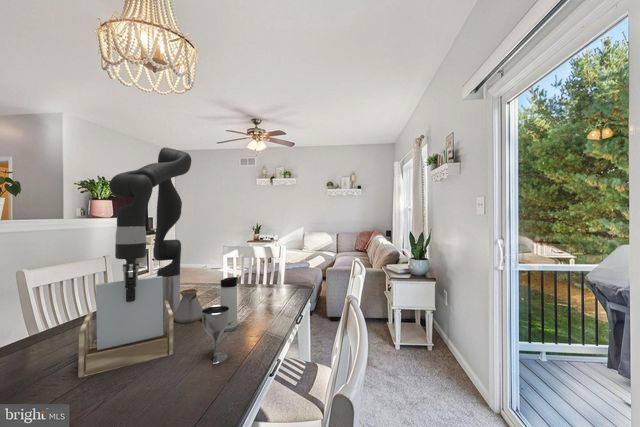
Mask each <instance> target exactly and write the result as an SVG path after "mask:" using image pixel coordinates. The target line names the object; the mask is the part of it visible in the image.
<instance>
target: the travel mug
mask: <svg viewBox="0 0 640 427" xmlns="http://www.w3.org/2000/svg"><path fill="white" fill-rule="evenodd" d="M238 279H239V278H238V276H231V277H225V278H223V279H220V286H219V290H220V292H219V293H220V297H219V298H220V299H219V300H220V302H219V303H220V304H219V305H223V306H228V307H229V320H228V324H227V327H226V329H225V330H224V331H223V332H231V331H234V330H236V329H237V328H238Z"/></svg>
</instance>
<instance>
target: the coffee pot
mask: <svg viewBox="0 0 640 427" xmlns="http://www.w3.org/2000/svg"><path fill="white" fill-rule="evenodd" d="M197 293H198V289H196V288H192V289H191V288H189V289H184V290H180V296H182V297H181V298H180V304H179V306H178V308H177V310H176V313H175V314H174V315H173V321H175V322H176V323H179V324H188V323H194V322H197V321H200V320H202V310H203V309H204V308H203V307H202V305H201V303H200V301H199V298H200V296H198V294H197ZM197 296H198V297H197Z"/></svg>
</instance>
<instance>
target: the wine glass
mask: <svg viewBox="0 0 640 427" xmlns="http://www.w3.org/2000/svg"><path fill="white" fill-rule="evenodd" d="M202 309H203V310H202V318H201V322H202V327H203V329H204V331H205V332H206V333H207V334H208V335H209V336H210V337H211V339H212V341H213V352H212V353H211V355H212V358H210V360H211V362H212V365H217V364H221V363H222V362H225V361H226V360H227V359H228V354H227V353H226V352H221V351H220V352H219V351H218V341H219V338H220V336H221V335H222V334H223V333H224V332H225V331H224V330H225V329H226V327H227V324H228V320H229V307H228V306H223V305H220V304H219V305H211V306H207V307H205V308H202Z"/></svg>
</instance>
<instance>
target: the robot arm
mask: <svg viewBox="0 0 640 427" xmlns="http://www.w3.org/2000/svg"><path fill="white" fill-rule="evenodd" d="M191 166H192V157H191V155H190V153H188V152H186V151H182V150H180V149H179V150H178V149H174V148H170V147H162V148H161V149H160V150H159V152H158V157H157V162H153V163H148V164H146V165H144V166H142V167H140V168H138V169H134V170H128V171H124V172H121V173H118V174H115V176H113V177H112V179H110V180H109V191H110V193H111V194H112V195H113V196H115V197H116V198H120V199H133V200H132V201H131V202H130V204H129V205H124V206H121V207H118V209H117V210H116V230H115V243H114V244H115V245H114V246H115V250H114V252H115V255H114V256H115V259H116V260H125V263H123V264H122V272H123V281H125V289H126V302H133V301H135V288H136V280H137V279H139V270H140V263H139V262H136V260H137V259H143V258H145V257H147V230H146V212H147V210H148V207H149V203H150V199H151V197H152V193H153V190H154V189H153V188H155V187H157V186H158V191H157V201H156V202H157V204H156V229H155V235H154V236H155V237H154V243H153V257H154V259H155V261H158V262H159V261H160V262H161V261H163V262H164V261H171V262H170V263H169V264H166V265H165V266H163V267H160V268H158V270H156V275H157V276H156V277H158V276H162V287H163V317H164V313H165V301H168V303H169V305H170V308H171V310H172V313H173V316H174V315H175V313H176V310H177V308H178V306H179V304H180V301H181V293H180V292H181V259H182V258H181V257H182V243H181V241H180V240H179V239H165V238H166V235H167V234H168V232H169V231H170V230H171V229H172V227H174V226H175V224H176V223H177V222H178V221H179V220H180V218H181V216H182V207H183V206H182V205H183V202H182V199H181V196H180V194H179V192H178V191H177V189H176V188H175V186H174V184H173V181H172V179H173V178H176V177H179V176H183V175H185V174H187V173H188V172H189V171H190V168H191ZM128 282H134V283H132V284H128Z"/></svg>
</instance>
